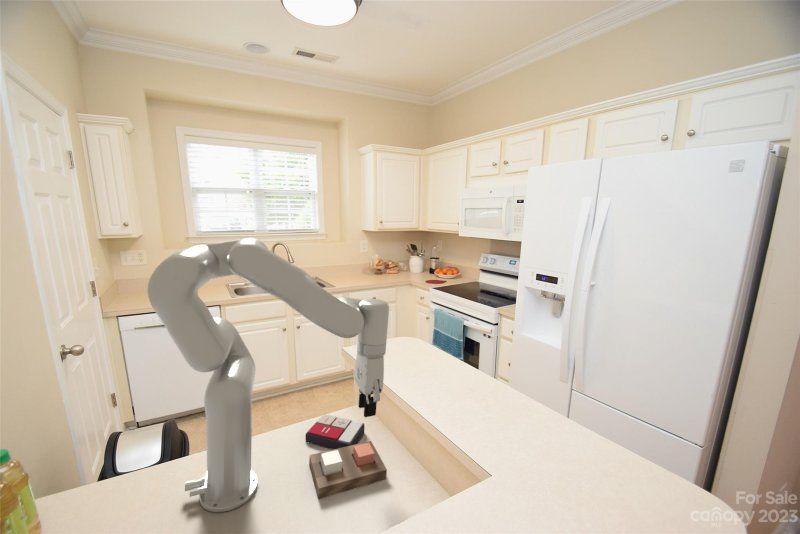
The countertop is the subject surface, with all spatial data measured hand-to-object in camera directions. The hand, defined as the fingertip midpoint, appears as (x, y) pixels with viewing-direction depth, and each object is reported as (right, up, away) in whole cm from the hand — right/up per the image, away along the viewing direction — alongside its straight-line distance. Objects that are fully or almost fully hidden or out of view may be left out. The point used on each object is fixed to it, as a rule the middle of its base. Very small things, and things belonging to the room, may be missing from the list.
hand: (366, 410), depth 89 cm
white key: (-9, -15, -2) cm, 18 cm away
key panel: (-5, -17, +1) cm, 18 cm away
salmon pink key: (-1, -15, +2) cm, 16 cm away
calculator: (-11, -15, +14) cm, 24 cm away
